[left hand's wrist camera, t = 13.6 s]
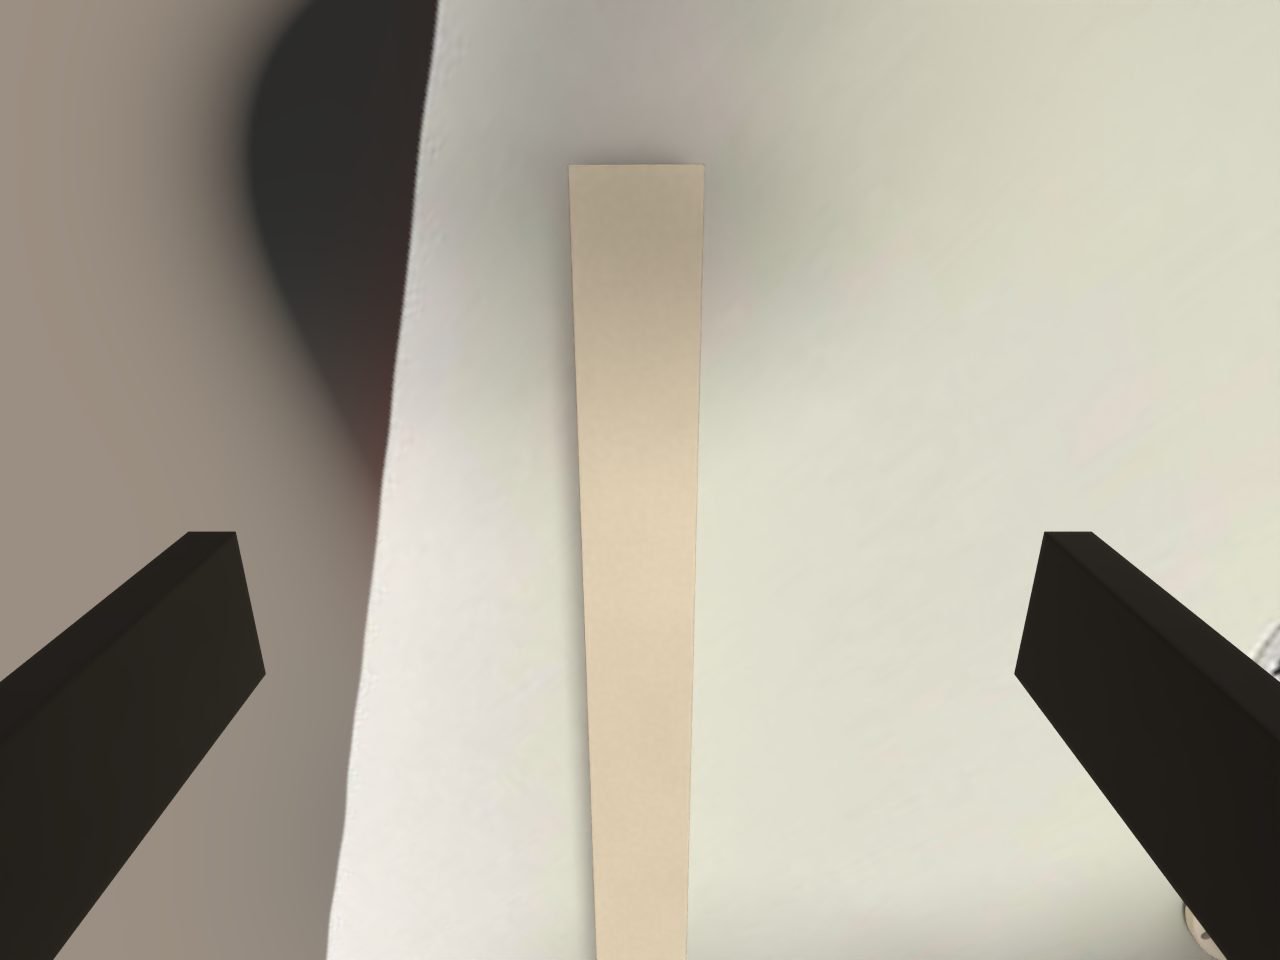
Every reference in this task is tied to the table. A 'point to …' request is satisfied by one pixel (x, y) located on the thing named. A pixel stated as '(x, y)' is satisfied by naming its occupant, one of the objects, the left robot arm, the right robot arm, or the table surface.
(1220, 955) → the right robot arm
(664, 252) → the bar
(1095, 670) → the left robot arm
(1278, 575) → the table surface
